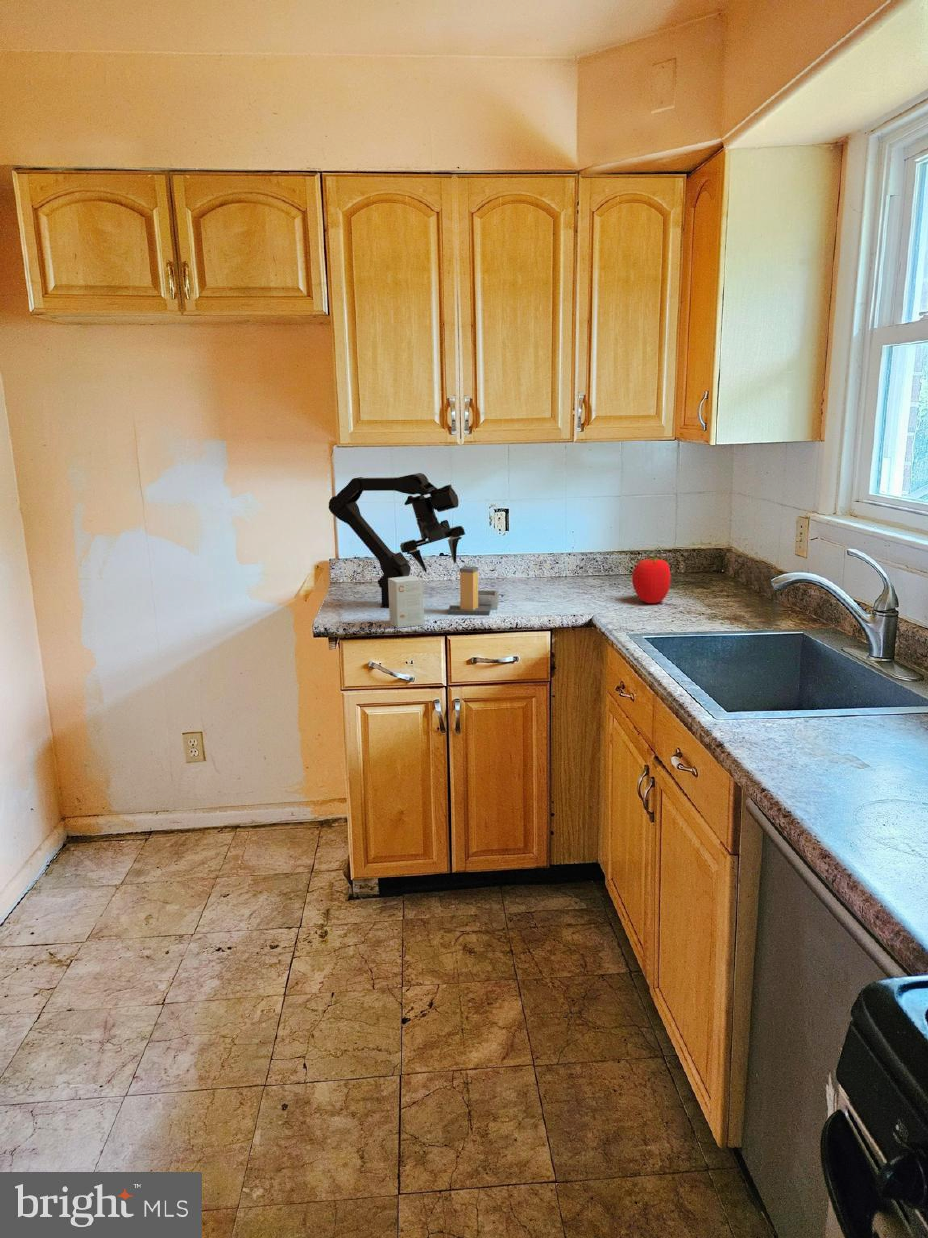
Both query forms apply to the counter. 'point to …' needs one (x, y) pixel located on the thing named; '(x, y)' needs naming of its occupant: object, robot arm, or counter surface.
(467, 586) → the grey capped orange post
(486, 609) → the rubber mat
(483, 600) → the socket
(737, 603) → the counter surface
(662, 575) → the tomato
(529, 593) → the counter surface
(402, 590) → the small box
